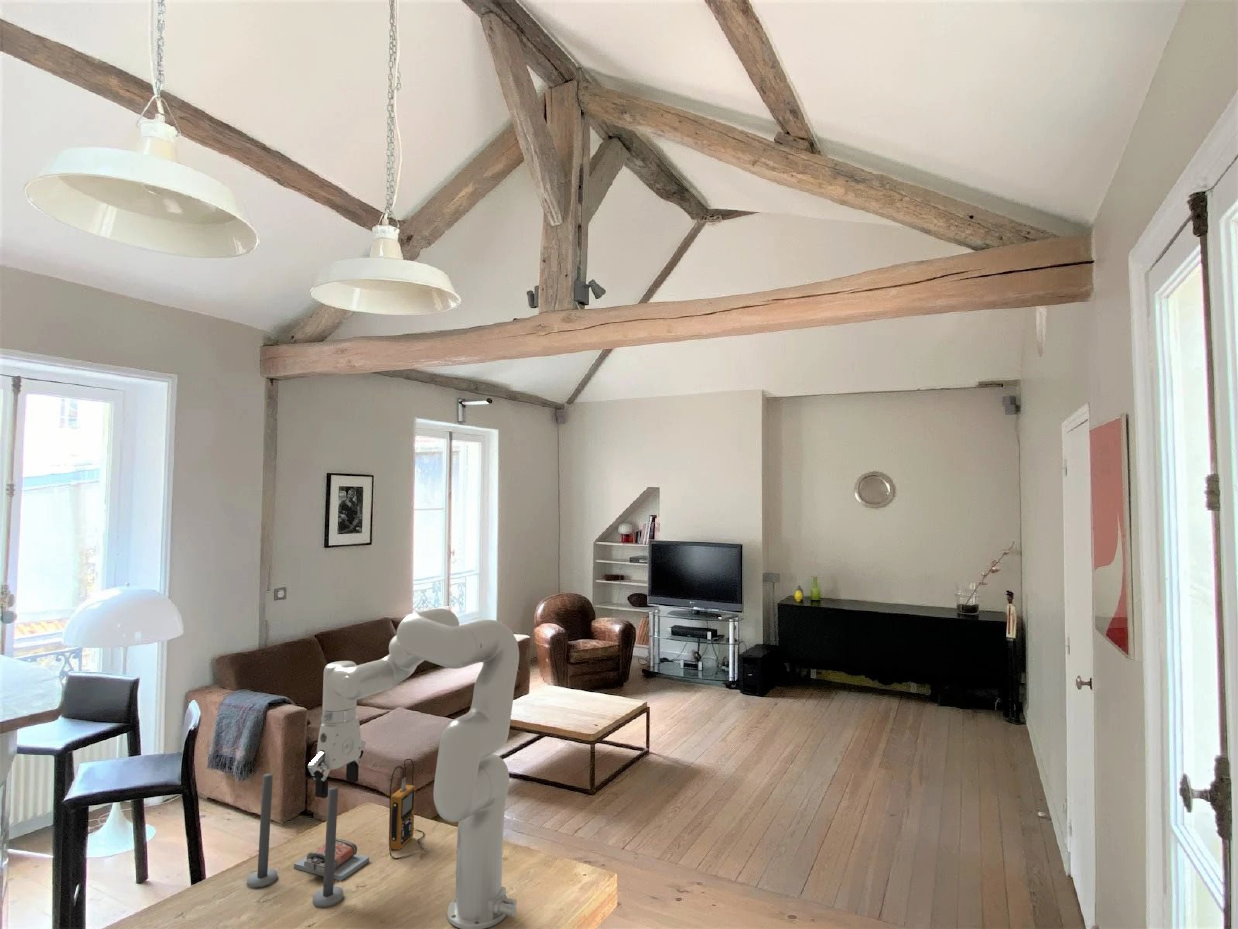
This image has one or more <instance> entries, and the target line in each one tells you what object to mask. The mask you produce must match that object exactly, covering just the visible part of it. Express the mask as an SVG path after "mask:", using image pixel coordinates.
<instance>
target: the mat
mask: <svg viewBox="0 0 1238 929" xmlns="http://www.w3.org/2000/svg"><path fill="white" fill-rule="evenodd" d="M306 860H307V855H306V856H305V857H303V858H302V859H300V860H298V861H296V862H295V863H294V865H293V869H295V870H298V871H303V872H306V873H311V874H315V875H318V876H321V877H324V872H321V871H318V870H314V871H311V870H310V868H308V867H305V866H304V862H305V861H306ZM367 862H368V863H369V862H370V857H369V856H366V855H362V854H358V853H356V854H355V855H354V856H353V857H350V858H348V859H347V860H346V861H344V862H343V863H341V864H340V865H339V866H337V868H336V869H335V870H334V880H337V881H340V882H341V881H343V880H345V879H346V878H348V877H349V876H350V875H352V874H353V873H354V872H356V871H357V869H358V870H359V869H361V868H362V867H363V866H365V865H367ZM361 866H362V867H361Z"/></svg>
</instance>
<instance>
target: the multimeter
mask: <svg viewBox="0 0 1238 929" xmlns="http://www.w3.org/2000/svg"><path fill="white" fill-rule="evenodd" d="M407 761H411V763H412V773H411V774H412V775H411V782H412V784H407V781H406V780H407V778H406V776H407V775H406V773H407V767H406V762H407ZM403 766H404V768H403V767H402V766H400V765H398V766H396V767H395V768H394V770H393V772H392V774H391V779H390V787H389V819H388V820H389V822H388V825H389V827H388V828H389V830H388V849H389V851H388V852H389V855H390V857H391V858H392V859H394V860H400V859H402V858H407V857H409V856H412V855H414V854H415V853H418V852H420V851H422V850H420V849H419V850H416V851H411V852H409V853H405V854H404V855H402V856H400V857H395V856H393V855H392V851H391V850H398V851H400V850H401V849H402V848H403V847H404V846H405V845H406V844H407V843H408V842H409V841H410V839H411V840H412V838H414V831H415V830H414V829H415V827H414V824H415V803H416V785H414V771H415V770H414V768H415V767H414V762H413V759H411V758H406V759H405V760H404V762H403ZM398 768H400V769H401V770H402V779H401V785H400V786H401V787H400V788H399V789H398V790H396V791H395V792H394V793H392V787H393V786H392V784H393V777H394V774H395V771H396V770H397V769H398ZM417 830H418V832H420V833H422V832H423V833H422V835H423V836H421V837H419V838H418V839H417V841H416V842H417V843H418V844H419V845H420V846H421V848H422V849H423V850H425V851H426V852H428V850H427V849H426V846H425V845H424V844H423V843H422V842H421V841H419V840H421V839H423V838H424V837H425V832H424V831H422V830H419V829H417Z"/></svg>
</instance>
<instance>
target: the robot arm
mask: <svg viewBox="0 0 1238 929" xmlns="http://www.w3.org/2000/svg"><path fill="white" fill-rule="evenodd" d="M388 652H389V654H387V655H386V656H384V657H383V658H380V659H378V660H377V659H376V660H373V661H369V662H366V663H361V664H356V662H354V661H351V660H339V661H334V662H330V663H328V664H326V665H325V667H324V669H323V681H322V682H323V683H322V684H323V686H322V713H321V714H322V715H321V716H320V721H321V724H320V728H319V732H318V733H319V734H318V739H317V746H316V756H315V757H314V758H313V759H312V760H311V761H310V762H309V763H308V764H307V770H308V771H309V774H310V777H312V779H313V780H315V788H314V795H315V797H317V798H322V799H326V798H328V789H329V779H327V778H328V775H329V774H330V772H331V771H333V770H334V771H335V770H337V769H339V768H341V767H344V766H345V767H346V771H345V775H346V777H345V780H346V782H352V783H357V782H359V765H360V763H361V761H362V760H361V759H362V756H363V755H364V750H365V748H366V744H367V742H366V741H364V740H362V738H361V736H362V735H361V734H362V733H361V725H360V720H359V717H358V716H357V700H361V699H363V698H367V697H370V696H373V695H377V694H378V693H382V692H386V691H388V690H390V689H392V688H394V687H395V686H397V685H399V684H400V683H401V682H403V681H405V680H406V679H407V678H409V677H410V676H411V675H413V673H414V672H415V670H416V669H417V668H418V667H417V666H419V665H420V664H421V663H423V662H425V661H427V662H429V663H431V664H435V665H439V666H442V667H443V668H446V669H453V670H454V669H455V670H457V669H458V670H459V669H463V668H466V667H470V666H472V665H476V664H478V663H481V662H482V667H481V669H480V672H479V673H478V675H477V678H476V680H475V683H474V687H473V696H472V700H471V705H470V708H469V711H468V712H466V713H465V714H463V715H461V716H458V717H456V718H454V719H453V720H451V721H450V722H449V723H448V725H447V726H446V727H445V729H443V732H442V735H441V738H440V740H439V746H438V751H437V752H438V753H437V760H436V768H435V774H434V783H433V803H434V806H435V810H436V812H437V814H438V815H439V816H440V818H442V819H443V820H444V821H446V822H449V823H458V825H457V841H456V843H457V844H456V868H455V869H456V871H455V898H453V900H451V901H450V903H449V904H448V907H447V910H446V913H447V914H446V917H447V920H448V921H449V923H450V924H451V925H453V926H454V927H456V928H459V929H488V928H491V927H493V926H495V925H497V924H499V923H500V922H501V921H503V920H504V919H505V917H506V916H509V917H513V918H514V917H515V915H516V913H517V899H515V898H512V897H508V896H507V887H504V886H502V884H503V882H502V881H503V855H504V854H503V852H504V850H503V849H504V824H505V822H504V821H505V811H506V804H507V803H506V802H507V797H508V793H509V787H510V786H509V784H510V773H509V768H508V766H507V763H506V762H505V761H504V760H503V758H502V757H501V756H499V755H497V754H494V753H496V752H497V751H499V750H500V749H502V748H503V747H504V746H505V745H506V743H507V741H508V738H509V734H510V727H511V719H512V711H513V704H514V703H513V702H514V695H515V694H514V693H515V692H514V691H515V685H516V680H517V675H518V671H519V670H518V669H519V663H520V649H519V644H518V641H517V638H516V636H515V634H514V633H513V631H512V630H511V628H509V627H508V626H507V625H506V624H504V623H503V622H501V621H499V620H493V619H483V620H477V621H474V622H469V623H466V624H461V625H460V622H459V619H458V617H457V615H456V614H455V613H454V612H453V611H451V610H450V609H446V608H433V609H428V610H423V611H418V612H413V613H410V614H407V616H405V617H404V618H403V619H402V620H401V621H400V622H399V624H398V627H397V629H396V635H394V636H393V637H392V638H391V640H390V641H389V645H388ZM323 770H324V771H323Z"/></svg>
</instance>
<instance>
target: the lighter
mask: <svg viewBox="0 0 1238 929" xmlns="http://www.w3.org/2000/svg"><path fill="white" fill-rule="evenodd" d="M325 844H326V843H324V844H322V845H321V846H319V847H318V848H317V849H315V850H314V851H311V852H309V853H308V854H307V855H306V856H307V860H306V861H305V862H304V866H305V867H308V868H310V870H311V871H314V870H318V871H321V872H324V865H325ZM355 854H358V846H357V845H356V843H353V842H351V841H350V840H347V839H343V838H339V837H336V844H335V864H334V870H335V869H336V868H337V866H339V865H340V864H341V863H343V862H344V861H346V860H347V859H348V858H350V857H353V856H354V855H355Z"/></svg>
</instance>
